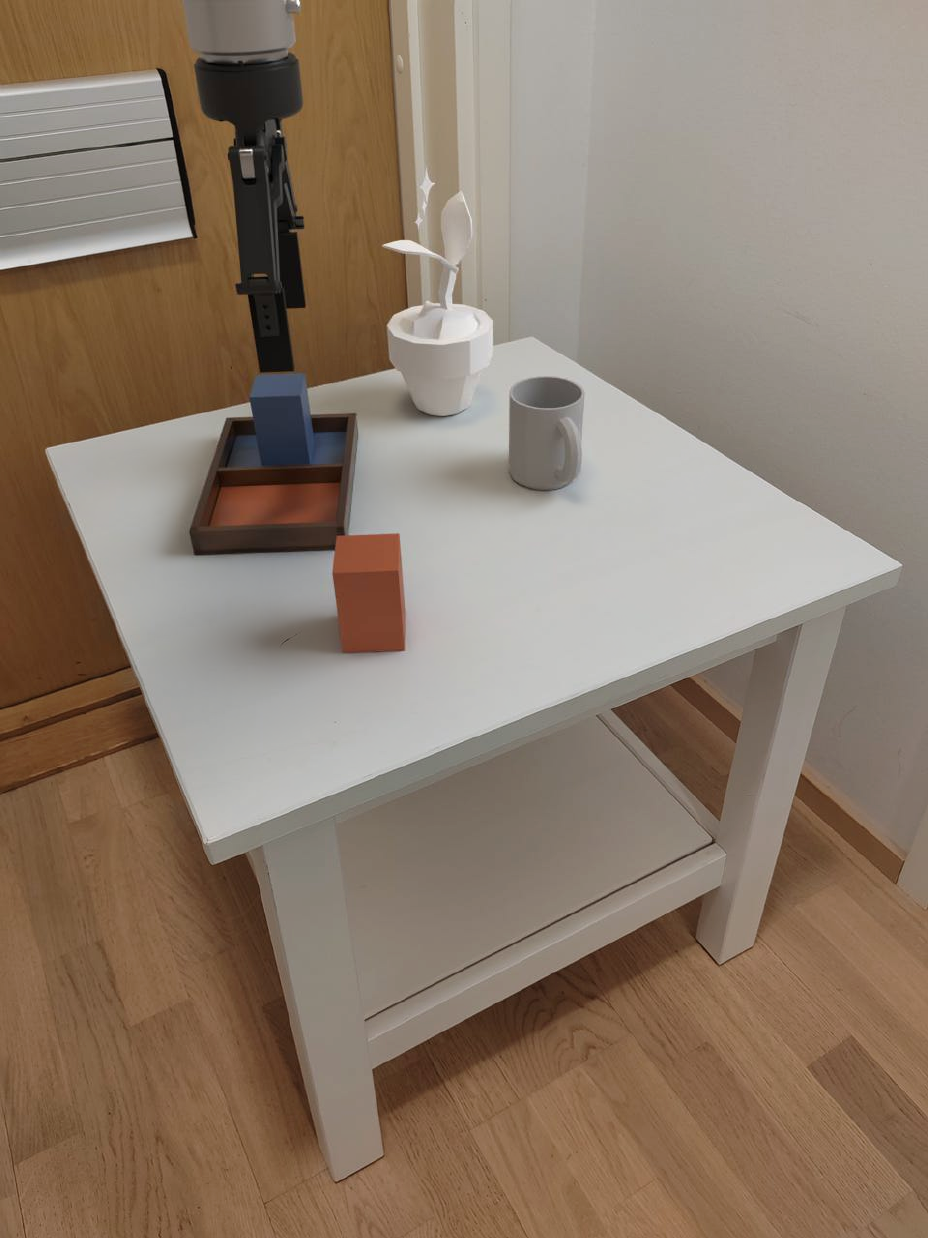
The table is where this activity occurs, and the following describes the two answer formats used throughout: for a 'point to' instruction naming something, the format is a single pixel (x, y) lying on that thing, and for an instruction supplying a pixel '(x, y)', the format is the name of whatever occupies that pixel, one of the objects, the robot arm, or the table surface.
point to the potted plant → (441, 325)
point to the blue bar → (282, 419)
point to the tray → (277, 492)
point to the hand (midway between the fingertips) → (284, 336)
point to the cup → (545, 432)
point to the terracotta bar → (369, 592)
